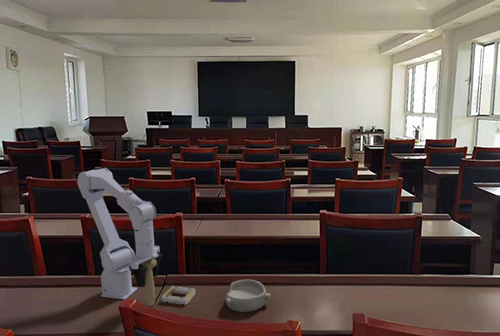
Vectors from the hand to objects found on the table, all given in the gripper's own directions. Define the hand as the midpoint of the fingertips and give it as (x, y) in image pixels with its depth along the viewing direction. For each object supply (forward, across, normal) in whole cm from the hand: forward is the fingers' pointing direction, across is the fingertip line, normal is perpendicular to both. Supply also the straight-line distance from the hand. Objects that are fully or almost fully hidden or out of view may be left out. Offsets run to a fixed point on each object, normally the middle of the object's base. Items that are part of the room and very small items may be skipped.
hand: (147, 281), depth 132 cm
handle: (+8, 0, 0) cm, 9 cm away
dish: (+9, +9, -30) cm, 33 cm away
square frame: (+8, +6, -7) cm, 13 cm away
